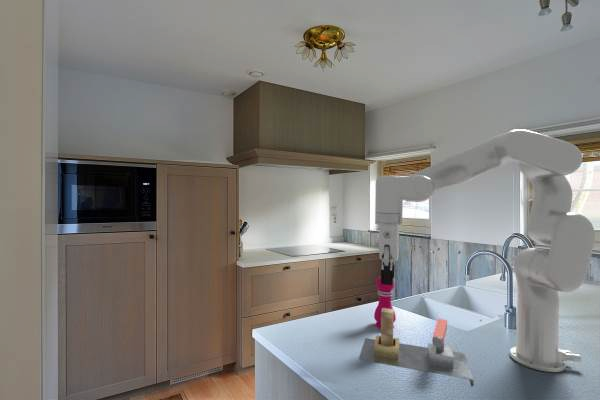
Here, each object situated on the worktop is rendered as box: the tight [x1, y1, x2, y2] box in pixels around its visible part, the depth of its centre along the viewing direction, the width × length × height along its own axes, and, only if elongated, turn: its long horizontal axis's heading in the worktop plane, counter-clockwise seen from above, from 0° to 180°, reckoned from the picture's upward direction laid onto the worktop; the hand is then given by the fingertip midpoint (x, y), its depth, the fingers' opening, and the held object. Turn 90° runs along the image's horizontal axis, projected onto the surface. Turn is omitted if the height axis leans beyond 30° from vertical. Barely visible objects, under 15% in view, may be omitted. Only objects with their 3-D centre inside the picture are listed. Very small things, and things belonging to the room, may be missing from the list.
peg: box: [380, 308, 395, 346], centre depth 91 cm, size 3×3×12 cm
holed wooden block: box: [374, 334, 400, 360], centre depth 91 cm, size 7×7×3 cm
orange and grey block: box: [431, 318, 448, 352], centre depth 86 cm, size 15×3×6 cm, turn 151°
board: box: [358, 337, 475, 385], centre depth 89 cm, size 28×14×4 cm, turn 71°
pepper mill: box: [373, 276, 397, 330], centre depth 110 cm, size 7×7×20 cm
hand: (387, 280), depth 91 cm, fingers open, 7 cm apart
